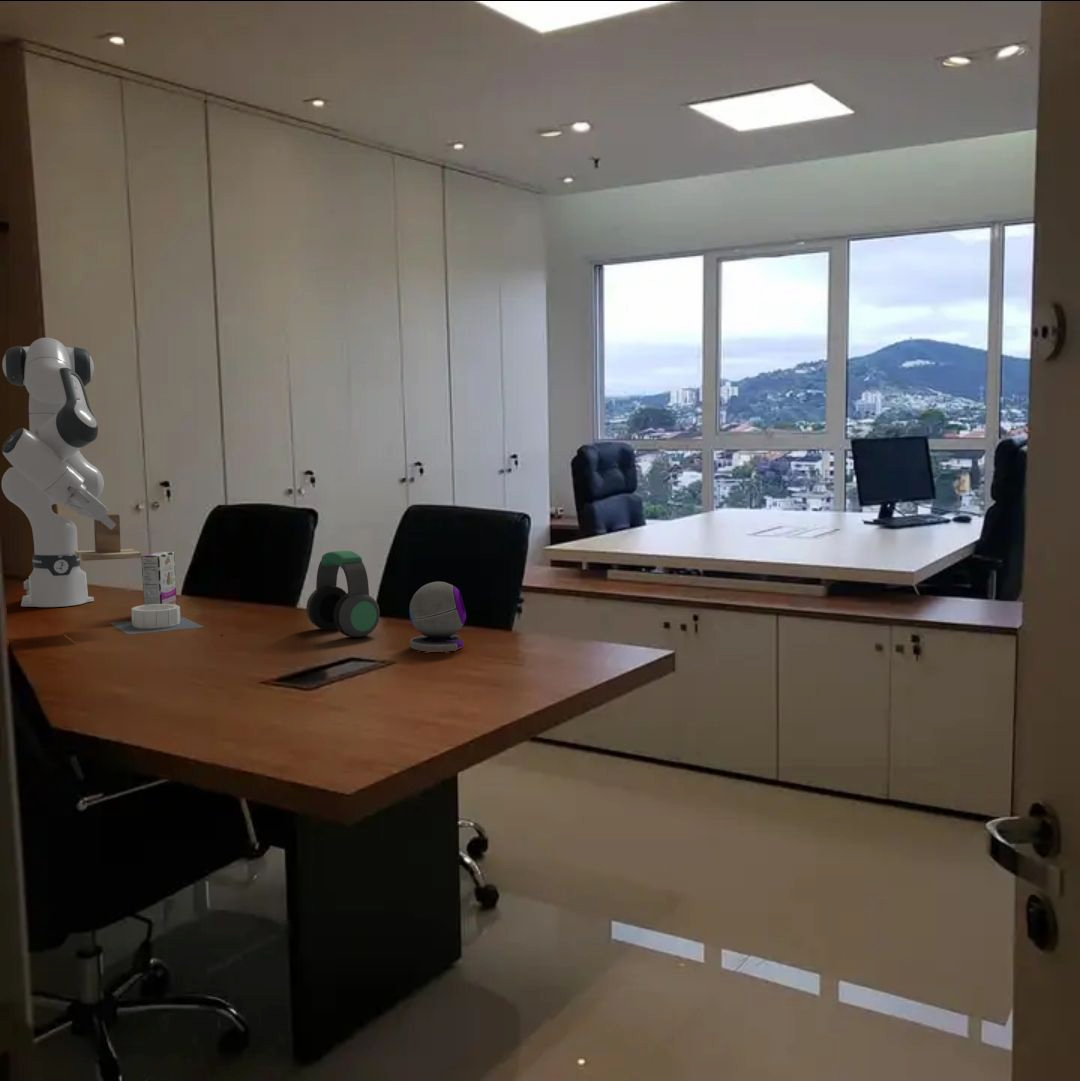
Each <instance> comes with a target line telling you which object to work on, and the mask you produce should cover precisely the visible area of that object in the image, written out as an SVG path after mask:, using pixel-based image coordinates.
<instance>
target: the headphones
mask: <svg viewBox="0 0 1080 1081" xmlns="http://www.w3.org/2000/svg"><path fill="white" fill-rule="evenodd" d="M340 568H341V569H342V570H343V572H344V576H345V580H346V584H347V586H346V587H347V592H346V591H345V590H344V589H343V588H341V587H338V585H337V583H338V582H337V580H338V572H339V570H340ZM315 583H316V584H315V585H316V586H315V587H316V588H315V590H314V591H312V593H311V594H310V595H309V597H308V599H307V602H306V609H305V610H306V614H307V618H308V619H309V621H310V622H311V623H312V624H313V625H314V626H316V627H317V628H319V629H321V630H323V631H328V630H330V631H335V630H338V631H339V632H340V633H341V634H342V635H343V636H346V637H349V638H363V637H366V636H368V635H370V634H371V633H372V632H373V631H374V630H375V629H376V627H377V626H378V624H379V621H380V614H381V613H380V606H379V604H378V601H377V600H375V598H374V597H372V596H371V595H370V589H369V579H368V573H367V571H366V566H365V564H364V562H363V559H362V557H361V556H360V555H359V554H358V553H357V552H354V551H352V550H339V551H338V550H337V551H335V550H334V551H329V552H326V553H324V554H323V555H322V556H321V560H320V562H319V565H318V568H317V572H316V582H315Z"/></svg>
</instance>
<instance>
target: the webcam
mask: <svg viewBox="0 0 1080 1081" xmlns="http://www.w3.org/2000/svg"><path fill="white" fill-rule="evenodd" d="M408 611H409V618H410V621H411V624H412V626H413V627H414V628H415V629H416V631H417V632H419V633H420V634H421V635H418V636H415V637H412V638H411V639H410V641H409V648H410V647H411V648H413V649H417V650H422V651H449V650H456V649H457V648H459V647H462V646H463V645H465V644H464V641H463V640H461V637H460V635H457V633H458V632H459V631H460V630H461V629H462V627H463V625H464V624H465V622H466V619H467V613H466V607H465V604H464V600H463V597H462V594H461V591H460V590H459V589H458V588H457V587H456V586H455V585H453V584H450V583H448V582H445V581H433V582H429V583H426V584H424V585H422V586H421V587H420V588H419V589H418V590H417V591H416V592H415V593H414V594H413V596H412V598H411V600H410V602H409V609H408ZM411 648H410V649H411Z"/></svg>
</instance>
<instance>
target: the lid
mask: <svg viewBox="0 0 1080 1081" xmlns="http://www.w3.org/2000/svg"><path fill="white" fill-rule="evenodd" d="M106 514H107V515H108V517H109V518H110V519H111V520H112V521H113V522H114V523H115V524H116V526H115V527H114V528H113V529H109V528H107V527H106V526H105V525H104V524H103V523H102V522H100V521H99V520H95V519H94V520H93V525H94V526H93V529H94V530H93V531H94V532H93V533H94V549H84V550H83V549H82V550H80V549H79V550H78V551H75V556H77V557H78V558H80V561H83V562H87V561H88V562H89V561H105V560H107V561H108V560H124V559H125V560H126V559H127V560H128V559H129V560H130V559H141V556H142V552H140V551H138V550H136V549H134V548H132V547H129V548H122V547H121V524H120V519H121V518H120V517H121V516H120V514H117V513H106Z"/></svg>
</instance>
